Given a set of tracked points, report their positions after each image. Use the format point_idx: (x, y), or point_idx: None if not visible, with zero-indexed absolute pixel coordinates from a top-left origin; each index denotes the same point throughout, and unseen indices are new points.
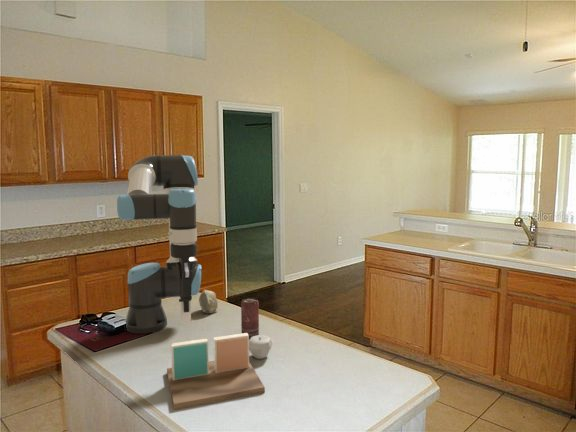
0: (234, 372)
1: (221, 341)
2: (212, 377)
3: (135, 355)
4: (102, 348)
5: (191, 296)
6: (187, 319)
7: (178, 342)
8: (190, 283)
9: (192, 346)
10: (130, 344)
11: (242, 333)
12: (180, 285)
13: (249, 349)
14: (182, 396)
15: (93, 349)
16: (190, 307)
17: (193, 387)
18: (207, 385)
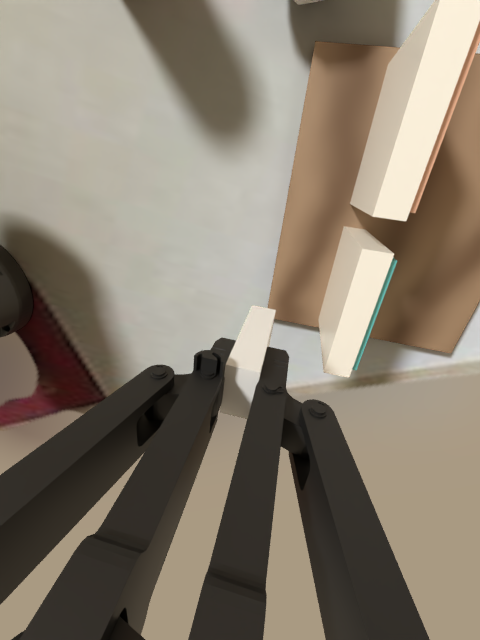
0: None
1: (421, 189)
2: (392, 226)
3: (147, 345)
4: (95, 387)
5: (223, 363)
6: (271, 330)
7: (330, 351)
8: (406, 602)
9: (376, 312)
10: (88, 340)
11: (432, 30)
12: (185, 501)
13: (302, 3)
14: (432, 328)
15: (96, 400)
16: (266, 346)
17: (408, 291)
18: (427, 255)
